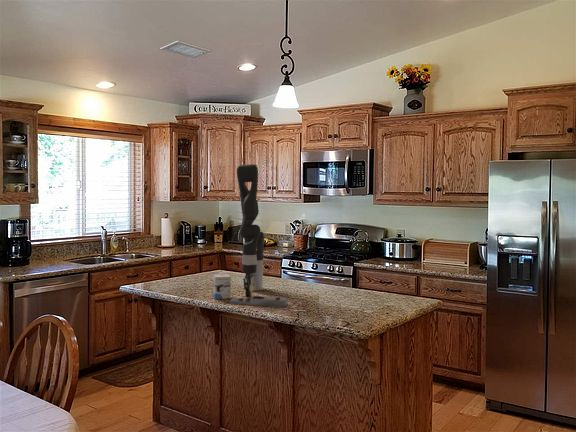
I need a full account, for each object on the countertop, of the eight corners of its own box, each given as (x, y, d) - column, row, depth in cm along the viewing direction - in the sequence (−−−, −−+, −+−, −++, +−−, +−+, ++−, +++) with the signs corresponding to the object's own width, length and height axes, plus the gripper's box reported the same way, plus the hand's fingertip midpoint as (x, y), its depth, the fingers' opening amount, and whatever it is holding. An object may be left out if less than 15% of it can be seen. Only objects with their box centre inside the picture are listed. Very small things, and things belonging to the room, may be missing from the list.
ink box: (214, 299, 270) (214, 276, 270) (213, 297, 275) (213, 275, 275) (230, 298, 273) (231, 276, 272) (229, 296, 277) (229, 274, 277)
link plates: (233, 300, 267) (233, 293, 267) (287, 304, 262) (287, 296, 262) (229, 303, 260) (230, 296, 260) (285, 307, 256) (285, 299, 255)
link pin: (245, 299, 272) (246, 280, 271) (253, 299, 271) (254, 280, 271) (243, 300, 268) (244, 281, 267) (251, 301, 267) (252, 282, 266)
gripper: (245, 261, 276) (245, 293, 277) (238, 264, 262) (238, 298, 263) (259, 261, 275) (259, 293, 276) (253, 265, 261) (252, 299, 262)
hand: (248, 295), depth 269 cm, fingers open, 4 cm apart
